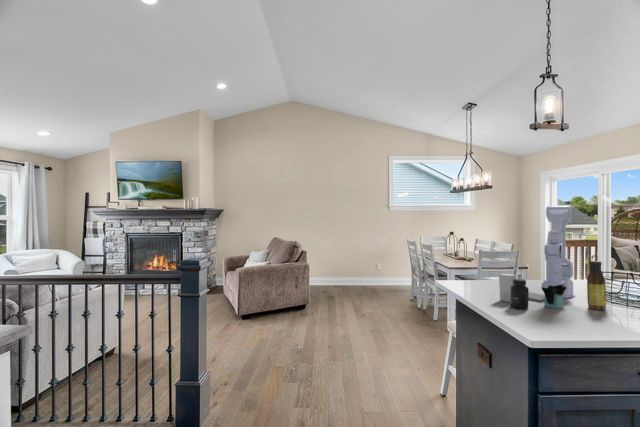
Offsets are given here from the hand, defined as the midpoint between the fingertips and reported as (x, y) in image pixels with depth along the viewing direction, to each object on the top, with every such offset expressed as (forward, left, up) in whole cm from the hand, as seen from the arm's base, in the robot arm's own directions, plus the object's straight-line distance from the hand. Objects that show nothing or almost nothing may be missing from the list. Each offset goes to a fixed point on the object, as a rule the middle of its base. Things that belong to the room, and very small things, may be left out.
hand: (554, 303), depth 158 cm
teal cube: (0, 0, -1) cm, 1 cm away
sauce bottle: (-11, +11, -2) cm, 16 cm away
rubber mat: (-8, -13, -1) cm, 15 cm away
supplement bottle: (+15, -6, -2) cm, 16 cm away
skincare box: (+8, -16, -2) cm, 18 cm away
